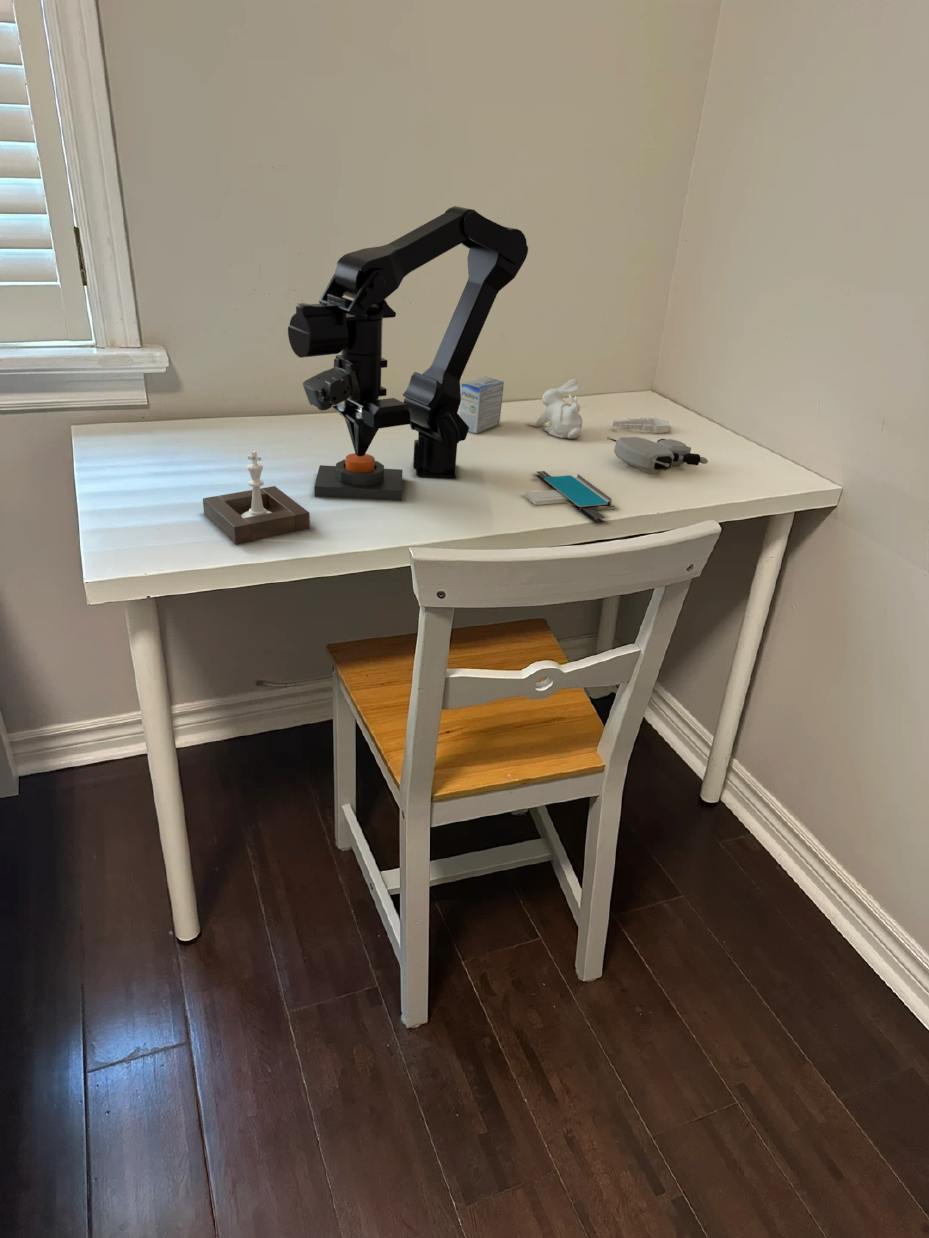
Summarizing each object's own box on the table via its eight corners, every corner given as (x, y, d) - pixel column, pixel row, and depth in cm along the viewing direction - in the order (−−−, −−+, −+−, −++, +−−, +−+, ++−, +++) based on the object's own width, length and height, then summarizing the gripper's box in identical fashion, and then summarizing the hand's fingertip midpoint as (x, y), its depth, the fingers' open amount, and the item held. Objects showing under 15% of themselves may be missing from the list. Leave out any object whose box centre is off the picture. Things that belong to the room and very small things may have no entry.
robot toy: (661, 455, 160) (599, 458, 152) (667, 431, 158) (604, 433, 150) (708, 477, 151) (645, 482, 144) (715, 453, 149) (651, 456, 141)
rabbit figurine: (527, 424, 168) (533, 374, 163) (558, 420, 171) (564, 372, 167) (565, 443, 159) (573, 391, 154) (596, 439, 163) (605, 388, 158)
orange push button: (375, 464, 133) (375, 453, 132) (374, 474, 129) (374, 463, 129) (346, 463, 133) (346, 452, 132) (344, 473, 129) (344, 462, 128)
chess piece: (266, 531, 117) (263, 460, 112) (233, 525, 118) (228, 454, 113) (282, 517, 121) (279, 449, 116) (249, 512, 122) (245, 444, 117)
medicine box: (481, 420, 168) (485, 375, 163) (500, 425, 166) (504, 380, 161) (457, 428, 162) (460, 382, 158) (476, 434, 160) (480, 388, 156)
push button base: (402, 479, 137) (402, 458, 135) (401, 501, 129) (402, 479, 128) (319, 475, 136) (319, 454, 134) (314, 497, 128) (314, 474, 126)
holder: (275, 501, 126) (274, 485, 124) (310, 529, 118) (309, 512, 117) (203, 515, 120) (202, 498, 118) (235, 544, 112) (234, 527, 111)
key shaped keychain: (622, 436, 166) (624, 427, 165) (608, 428, 170) (610, 419, 169) (677, 432, 171) (679, 423, 170) (662, 424, 175) (664, 416, 174)
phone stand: (503, 478, 141) (504, 468, 140) (566, 473, 146) (568, 463, 145) (560, 527, 125) (561, 516, 125) (629, 519, 130) (631, 509, 129)
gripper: (280, 340, 124) (283, 444, 132) (344, 372, 112) (343, 485, 119) (348, 335, 130) (347, 434, 138) (415, 364, 118) (410, 472, 125)
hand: (360, 455), depth 130 cm, fingers closed
